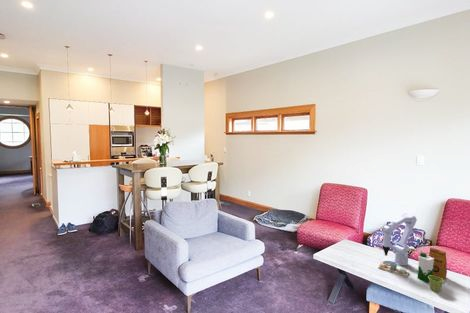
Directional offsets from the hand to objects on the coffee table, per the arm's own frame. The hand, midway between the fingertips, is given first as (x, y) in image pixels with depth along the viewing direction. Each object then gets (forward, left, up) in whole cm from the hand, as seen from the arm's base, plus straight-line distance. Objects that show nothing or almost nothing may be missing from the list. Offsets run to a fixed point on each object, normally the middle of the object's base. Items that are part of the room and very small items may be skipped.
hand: (386, 255), depth 235 cm
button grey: (-2, +9, -8) cm, 12 cm away
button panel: (-2, +9, -9) cm, 13 cm away
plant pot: (-18, +36, -10) cm, 41 cm away
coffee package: (-33, +15, -10) cm, 38 cm away
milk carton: (-20, +21, -10) cm, 31 cm away
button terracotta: (+4, +5, -9) cm, 11 cm away
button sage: (-8, +13, -9) cm, 18 cm away
